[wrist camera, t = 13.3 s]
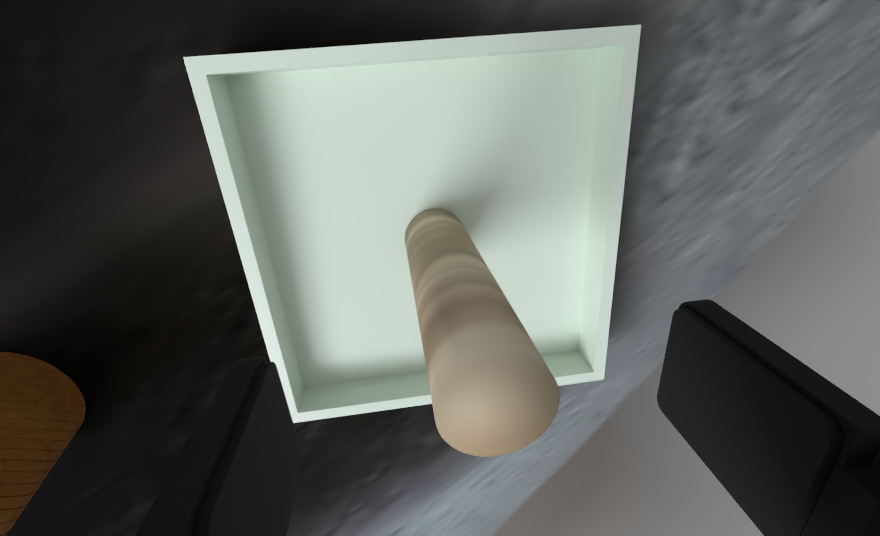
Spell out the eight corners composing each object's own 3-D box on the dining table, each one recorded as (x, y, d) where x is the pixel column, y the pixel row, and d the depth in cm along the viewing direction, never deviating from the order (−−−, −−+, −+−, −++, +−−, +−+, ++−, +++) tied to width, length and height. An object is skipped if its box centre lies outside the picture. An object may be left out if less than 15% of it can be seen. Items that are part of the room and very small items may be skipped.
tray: (214, 61, 18) (183, 57, 15) (604, 33, 19) (641, 24, 16) (299, 385, 24) (288, 423, 22) (580, 348, 26) (603, 379, 23)
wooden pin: (401, 212, 20) (429, 366, 9) (463, 205, 20) (562, 346, 9) (408, 269, 21) (439, 465, 10) (466, 262, 21) (557, 445, 11)
